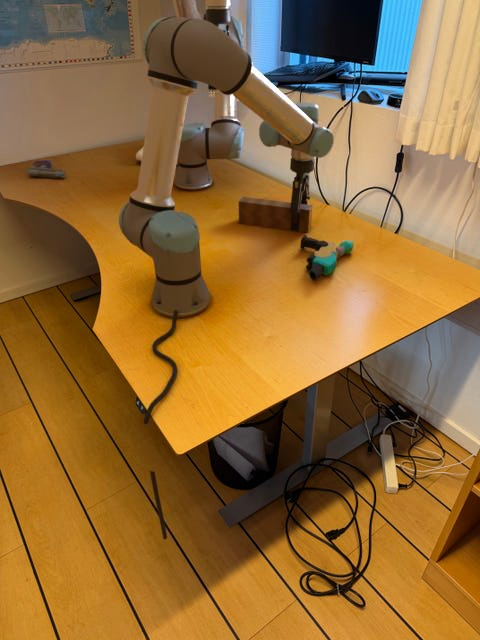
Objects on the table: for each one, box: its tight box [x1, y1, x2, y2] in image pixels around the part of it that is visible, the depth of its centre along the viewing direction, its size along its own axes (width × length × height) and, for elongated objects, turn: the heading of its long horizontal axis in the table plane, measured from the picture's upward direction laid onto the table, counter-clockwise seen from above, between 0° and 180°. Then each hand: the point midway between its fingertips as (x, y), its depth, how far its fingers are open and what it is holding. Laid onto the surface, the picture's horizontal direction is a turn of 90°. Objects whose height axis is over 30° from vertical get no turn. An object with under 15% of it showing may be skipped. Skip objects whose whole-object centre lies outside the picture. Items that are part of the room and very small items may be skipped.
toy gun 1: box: [26, 159, 67, 179], centre depth 208 cm, size 4×19×15 cm
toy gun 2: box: [299, 234, 355, 282], centre depth 140 cm, size 4×26×15 cm
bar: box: [238, 196, 314, 233], centre depth 161 cm, size 24×4×8 cm, turn 71°
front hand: (298, 224), depth 160 cm, fingers open, 10 cm apart
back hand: (220, 85), depth 155 cm, fingers open, 13 cm apart
